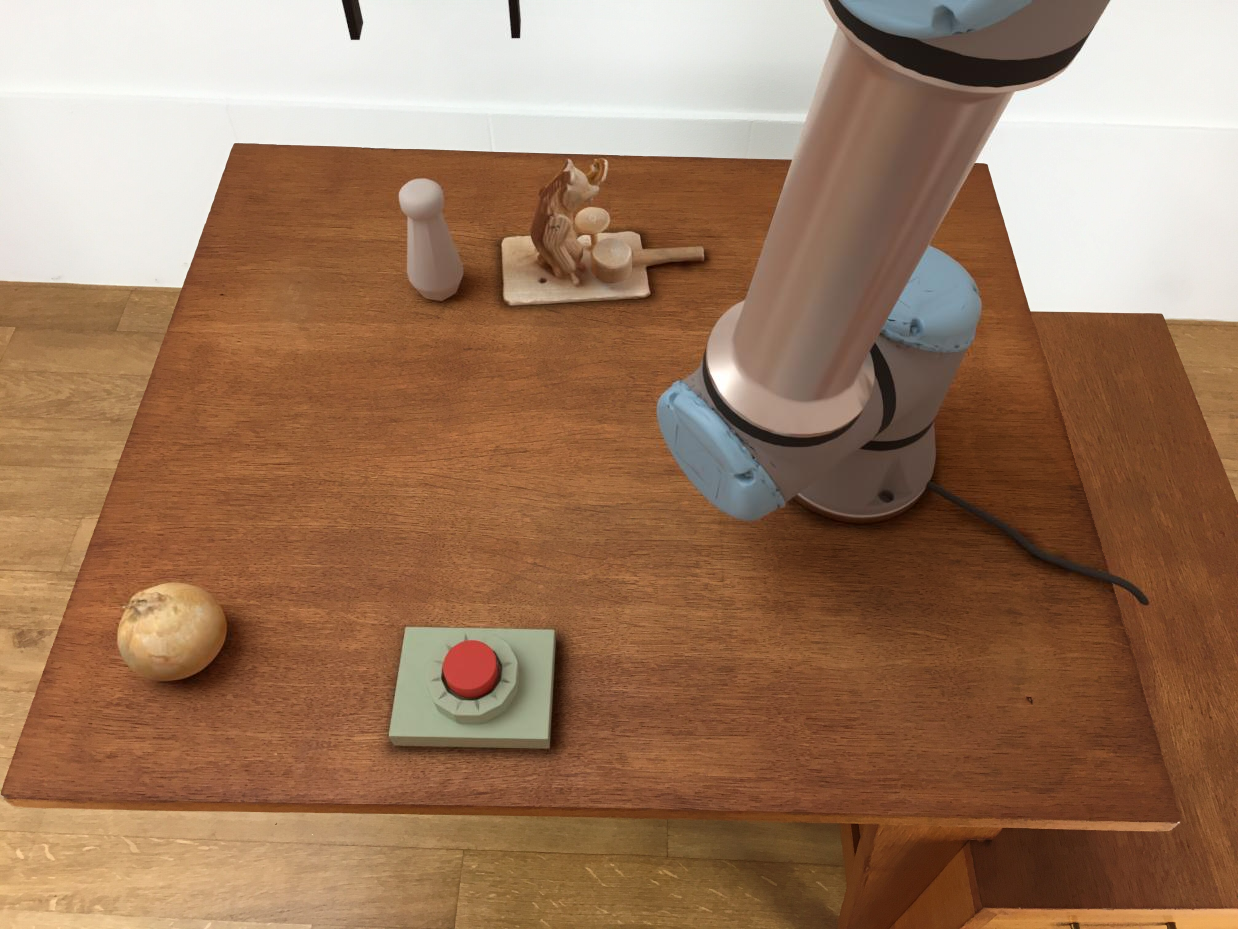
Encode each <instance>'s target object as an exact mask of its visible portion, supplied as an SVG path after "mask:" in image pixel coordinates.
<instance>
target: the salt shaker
mask: <svg viewBox="0 0 1238 929" xmlns="http://www.w3.org/2000/svg"><path fill="white" fill-rule="evenodd" d="M398 201H399V206H400V209H401V212H402V213H403V214H404V215H405V216H406V217H407V228H406V230H407V233H406V234H407V236H406V237H407V238H406V239H407V240H406V242H407V244H406V255H407V256H406V273H407V278H408V281H409V283H410V284H411V285H412V286H413V287H414V288H415V290H417V291H418V293H420V295H421V296H422V297H423V298H424V299H425V300H432V301H438V302H442V301H445V300H447V299H448V298H450V297H452V296H454V295H456V294H457V292H458V289H459V287H460V284H461V281H462V279H463V276H464V273H465V272H464V266H463V262H462V259H461V256H460V254H459V252H458V249H457V246H456V244H455V242H454V239H453V237H452V234H451V232H450V228H449V226H448V224H447V221H446V220H445V216H444V214H443V210H444V208H445V204H446V200H445V194H444V191H443V188H442V186H441V185H440V184H438V183H437V182H436V181H434V180H432V179H428V178H415V179H412V180H409V181H408V182H407V183H405V184H404V185H403V186H402V187H401V188H400V190H399V192H398Z"/></svg>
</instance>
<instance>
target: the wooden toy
mask: <svg viewBox="0 0 1238 929" xmlns="http://www.w3.org/2000/svg"><path fill="white" fill-rule="evenodd" d="M608 171H609V162H608V160H607V159H605V158H603V157H600V158H594V159H593V160H592V162H591V164H590V165H589V166H588V167H587V168H586V169H584V170H583V171H582V170H580V169H579V168H577V167H575V165H574V163H573V161H572V159H570V158H566V159H565V161H564V162H563V166H562V167H561V168H560V170H559V171H558V172H557V173H556V175H555V176H554V177H552V179H551V180H550V181H549V183H548V184H543V185H542V186H541V187H540V188H539V191H538V197H539V199H538V203H537V205H536V208H535V213H534V216H533V219H532V221H531V224H530V229H529V235H524V236H522V235H521V236H520V235H516V236H508V237H504V238H503V239H502V241H500V242H501V244H500V247H501V248H500V251H501V252H500V253H501V269H502V273H501V275H502V276H501V277H502V278H501V279H502V299H503V303H504V304H506V305H507V306H527V305H545V304H546V305H548V304H549V305H550V304H563V303H564V304H565V303H580V302H581V303H582V302H583V303H584V302H603V301H618V300H636V299H638V300H639V299H644V298H647V297H648V296H650V295H651V290H650V287H649V279H648V274H647V273H648V272H647V268H648V267H650V266H656V265H662V264H666V263H675V262H677V263H678V262H679V263H680V262H704V260H705V254H704V253H705V251H704V250H705V249H704V247H703V246H702V245H696V246H695V245H694V246H677V247H664V248H663V247H658V248H643V246H642V241H641V236H640V234H639V233H636V232H635V231H629V230H628V231H618V232H604V231H605V230H606V229H608V227H609V225H610V223H611V216H610V214H609V213H608V212H607V211H606V209H604V208H602V207H595V206H588V207H587V206H586V207H585V208H583V209H581V210H580V211H578V209H579V208H580V207H581V206H582V205H583V204H584V203H593V201H594V198H595V197H596V196H597V195H598V193H599V191H600V186H601V185H602V184H603V183H604V182H605V181H606V180H607V177H608ZM575 211H578V212H577V213H576V215H575V217H574V212H575Z"/></svg>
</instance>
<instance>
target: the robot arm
mask: <svg viewBox="0 0 1238 929" xmlns="http://www.w3.org/2000/svg"><path fill="white" fill-rule="evenodd" d="M822 1H823V3H824V6H825V8H826V10H827V12H828V13H829V15H830V17H831V18H832V21H833V22H834V23H835V24H836V25H837V26H836V29H835V32H834V35H833V38H832V41H831V43H830V46H829V49H828V53H827V55H826V59H825V62H824V65H823V67H822V71H821V73H820V77H819V79H818V82H817V85H816V88H815V91H814V94H813V97H812V100H811V103H810V106H809V109H808V112H807V115H806V118H805V121H804V123H803V127H802V129H801V133H800V136H799V139H798V142H797V144H796V147H795V151H794V153H793V156H792V159H791V163H790V165H789V168H788V172H787V174H786V178H785V180H784V183H783V187H782V189H781V191H780V192H781V193H780V196H779V199H778V201H777V205H776V207H775V211H774V213H773V216H772V219H771V222H770V226H769V228H768V231H767V233H766V237H765V240H764V243H763V246H762V248H761V251H760V255H759V257H758V260H757V264H756V266H755V270H754V273H753V275H752V277H751V278H752V279H751V282H750V284H749V288H748V290H747V293H746V296H745V299H744V300H742V301H740V302H737V303H736V304H734V305H733V306H731V307H730V308H729V309H727V311H725V312H724V313H722V315H721V316H720V318H719V319H718V320H717V321H716V323H715V325H714V327H712V329H711V331H710V333H709V337H708V339H707V342H706V347H705V349H704V352H703V355H702V359H701V362H700V365H699V366H698V368H696V370H695V371H694V372H692V373H691V374H690V375H688V376H687V377H685V378H684V379H682V380H679V379H676V381H674V382H673V383H672V385H671V386H670V387H669V388H667V389H666V390H665V391H664V392H663V393H662V394H661V395H660V396H659V398H658V401H657V404H656V419H657V423H658V427H659V429H660V433H661V436H662V438H663V440H664V442H665V444H666V446H667V448H668V449H669V450H668V451H670V453H671V455H672V457H673V459H674V460H675V462H676V463H677V465H678V466H679V468H680V469H681V470H682V472H683V473H684V475H685V476H686V478H687V479H688V480H689V481H690V483H691V484H692V485H693V486H694V487H695V488H696V490H697V491H698V492H699V493H700V494H701V495H702V496H703V497H704V498H705V499H706V500H707V501H708V502H709V503H710V504H712V506H714V507H715V508H716V509H718V510H719V511H720V512H722V513H723V514H727V515H728V516H729V517H731V518H732V519H735V520H738V521H743V522H755V521H758V520H760V519H762V518H764V517H765V516H767V515H769V514H771V513H773V512H775V511H776V510H778V509H783V508H784V507H785V506H786V503H788V502H789V501H790V500H791V499H793V500H794V501H795V502H797V504H799V505H801V506H802V507H804V508H805V509H807V510H809V511H811V512H813V513H814V514H816V515H819V516H822V517H824V518H827V519H830V520H833V521H838V522H842V523H850V524H871V523H878V522H882V521H883V522H884V521H886V520H889V519H892V518H895V517H897V516H899V515H901V514H903V513H904V512H906V511H907V510H910V508H912V507H913V506H914V505H915V504H916V503H917V502H919V500H920V499H921V497H922V496H923V494H924V493H925V491H926V489H927V490H929V491H930V492H933V493H935V494H936V495H938V496H940V497H942V498H944V499H945V500H946V501H949V502H951V503H952V504H954V505H956V506H958V507H959V508H961V509H963V510H965V511H966V512H968V513H969V514H972V515H973V516H975V517H977V518H979V519H981V520H983V521H984V522H987V523H989V524H990V525H992V526H994V527H995V528H996V529H999V530H1000V531H1002V532H1004V533H1005V534H1006V535H1008V536H1009V537H1011V538H1012V539H1013V540H1015V542H1016V543H1017V544H1019V545H1020V546H1021V547H1022V548H1023V549H1025V550H1026V551H1027V552H1028V553H1030V554H1031V555H1033V556H1034V557H1036V558H1038V559H1040V560H1042V561H1045V562H1047V563H1050V564H1052V565H1055V566H1058V567H1061V568H1064V569H1066V570H1069V571H1071V572H1075V573H1078V574H1081V575H1084V576H1086V577H1090V578H1094V579H1097V580H1100V581H1104V582H1107V583H1111V584H1113V585H1116V586H1118V587H1120V588H1122V589H1124V590H1126V591H1127V592H1129V593H1130V594H1131V595H1133V596H1134V597H1135V599H1136V600H1137V601H1138V602H1139V604H1141V605H1143V606H1149V605H1150V601H1149V599H1148V598H1147V595H1145V593H1144V592H1143V591H1142V590H1141V589H1140V588H1138V587H1137V586H1136V585H1135V584H1133V583H1132V582H1130V581H1129V580H1127V579H1124V578H1122V577H1120V576H1117V575H1114V574H1111V573H1109V572H1106V571H1102V570H1099V569H1094V568H1091V567H1088V566H1084V565H1081V564H1078V563H1076V562H1074V561H1071V560H1068V559H1065V558H1063V557H1060V556H1057V555H1053V554H1052V553H1049V552H1047V551H1044V550H1043V549H1040V548H1038V547H1037V546H1036V545H1034V544H1032V542H1030V541H1029V540H1028V539H1027V538H1025V537H1024V535H1023V534H1021V533H1020V532H1019V531H1017V530H1016V529H1015V528H1014V527H1012V526H1011V525H1009V524H1008V523H1006V522H1004V521H1002V520H1001V519H1000V518H997V517H995V516H994V515H992V514H990V513H989V512H987V511H985V510H983V509H981V508H979V507H977V506H975V505H973V504H972V503H970V502H968V501H966V500H965V499H963V498H961V497H959V496H957V495H956V494H954V493H952V492H951V491H949V490H947V489H945V488H943V487H942V486H940V485H938V484H936V483H934V482H933V481H931V479H932V476H933V474H934V469H935V464H936V458H937V447H936V432H935V430H936V429H935V419H936V417H937V415H938V413H939V411H940V410H941V407H942V405H943V402H944V400H945V399H946V396H947V394H948V392H949V390H950V387H951V386H952V384H953V381H954V379H955V377H956V375H957V373H958V371H959V369H960V367H961V364H962V363H963V361H964V358H965V356H966V354H967V351H968V349H969V347H970V346H971V345H972V344H973V343H974V341H975V337H976V329H977V327H978V324H979V320H980V318H981V314H982V308H983V306H982V303H983V302H982V299H981V298H980V291H979V288H978V285H977V283H976V281H975V280H974V278H973V277H972V276H971V274H970V273H969V272H968V270H967V269H966V268H964V266H963V265H961V264H960V262H958V261H957V260H955V259H954V258H953V257H952V256H950V255H948V254H947V253H945V252H944V251H942V250H940V249H938V248H936V247H933V246H932V245H930V244H931V242H932V241H933V239H934V237H935V235H936V234H937V231H938V230H939V228H940V226H941V224H942V223H943V221H944V219H945V217H946V215H947V214H948V212H949V211H950V208H951V207H952V206H953V205H952V204H953V203H954V201H955V199H956V198H957V196H958V194H959V192H960V190H961V188H962V187H963V185H964V183H965V182H966V180H967V178H968V176H969V174H970V173H971V171H972V169H973V167H974V165H975V163H976V161H977V160H978V158H979V156H980V155H981V153H982V151H983V150H984V148H985V146H986V144H987V143H988V140H989V139H990V137H991V135H992V133H993V131H994V129H995V128H996V126H997V124H998V122H999V121H1000V119H1001V117H1002V115H1003V114H1004V112H1005V110H1006V108H1007V107H1008V104H1009V103H1010V101H1011V99H1012V97H1013V96H1014V94H1015V93H1016V92H1021V91H1026V90H1029V89H1032V88H1036V87H1039V86H1041V85H1043V84H1046V83H1048V82H1050V81H1052V80H1054V79H1055V78H1056V77H1058V76H1059V75H1061V74H1062V73H1063V72H1065V71H1066V70H1067V69H1068V68H1069V66H1070V65H1071V64H1073V62H1074V60H1075V59H1076V57H1077V56H1078V54H1079V53H1080V52H1081V50H1082V49H1083V47H1084V45H1085V44H1086V42H1087V40H1088V39H1089V37H1090V35H1091V34H1092V32H1093V30H1094V29H1095V27H1096V25H1097V24H1098V22H1099V20H1100V18H1101V17H1102V16H1103V13H1104V12H1105V11H1106V9H1107V7H1108V5H1109V4H1110V2H1111V0H822ZM520 2H521V1H520V0H507V3H508V4H507V5H508V16H509V27H510V38H511V39H521V28H522V19H521V18H522V17H521V4H520ZM341 4H342V8H343V12H344V17H345V22H346V25H347V29H348V30H347V31H348V34H349V38H350V41H360V40H361V36H362V31H363V27H364V19H363V13H362V9H361V5H360V0H341Z"/></svg>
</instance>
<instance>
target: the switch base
mask: <svg viewBox="0 0 1238 929" xmlns="http://www.w3.org/2000/svg"><path fill="white" fill-rule="evenodd" d="M468 640H476V641H480V642H483V643H485V644H486V645H488V646H489V647H490V648H491V649H492V650H493V652H494V654H495V656H496V660H497V665H498V678H497V681H496V683H495V685H494V686H493V688H492V689H491V690H490V691H489V692H487V693H486V694H484V695H482V696H480V697H477V698H464V697H460V696H458V695H456V694H455V693H454V692H453V691H452V690H451V689H450V688H449V686H448V684H447V681H446V678H445V675H444V672H443V663H444V659H445V657H446V655H447V653H448V652H449V651H450V649H451V648H452V647H454V646H455V645H457V644H458V643H461V642H463V641H468ZM556 643H557V640H556V631H555V629H547V628H546V629H545V628H544V629H542V628H493V627H491V628H487V627H485V628H484V627H438V626H437V627H434V626H433V627H432V626H429V627H428V626H405V627H404V635H403V640H402V647H401V655H400V660H399V666H398V673H397V678H396V686H395V693H394V699H393V705H392V712H391V718H390V723H389V725H390V726H389V731H388V738H389V740H390V741H391V743H392V745H393V747H436V748H437V747H441V748H443V747H444V748H445V747H446V748H495V749H496V748H498V749H503V748H504V749H544V750H547V749H550V748H551V734H552V733H551V730H552V713H553V697H554V695H553V694H554V679H555V677H554V676H555V662H556V661H555V660H556V646H557V645H556Z"/></svg>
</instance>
